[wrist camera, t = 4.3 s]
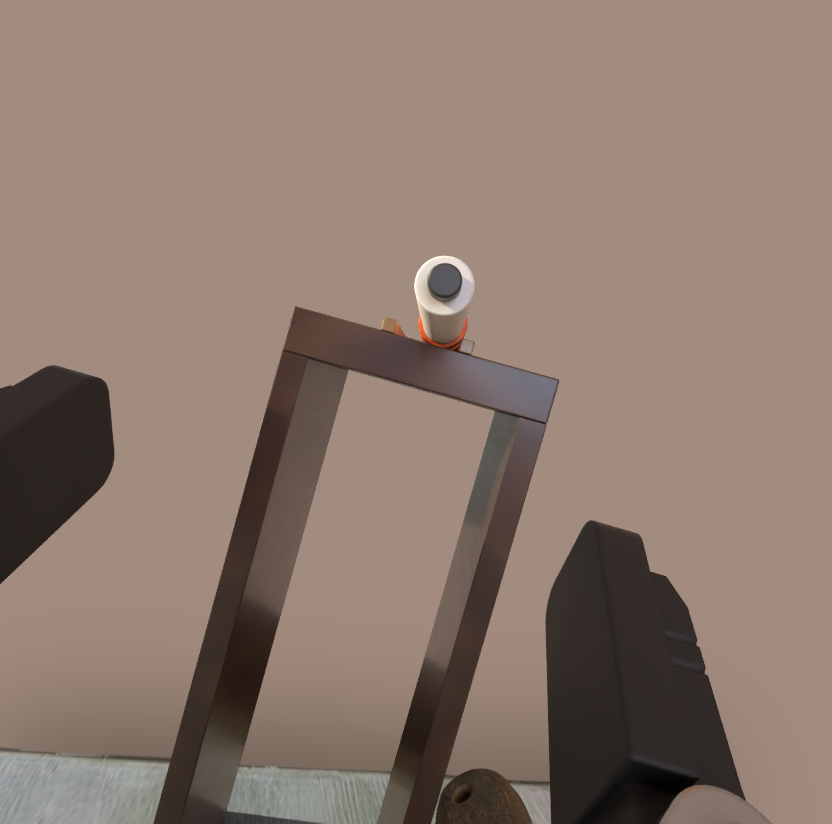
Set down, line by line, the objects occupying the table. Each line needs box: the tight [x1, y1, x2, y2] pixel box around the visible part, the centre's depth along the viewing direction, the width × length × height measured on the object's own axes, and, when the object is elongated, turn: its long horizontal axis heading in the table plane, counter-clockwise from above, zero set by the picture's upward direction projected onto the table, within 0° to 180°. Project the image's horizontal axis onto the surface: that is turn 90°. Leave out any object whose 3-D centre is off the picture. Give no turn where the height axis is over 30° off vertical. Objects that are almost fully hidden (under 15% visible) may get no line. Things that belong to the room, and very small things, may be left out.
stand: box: [154, 307, 559, 824], centre depth 30 cm, size 12×11×33 cm
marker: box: [415, 256, 475, 351], centre depth 25 cm, size 17×2×2 cm, turn 179°
